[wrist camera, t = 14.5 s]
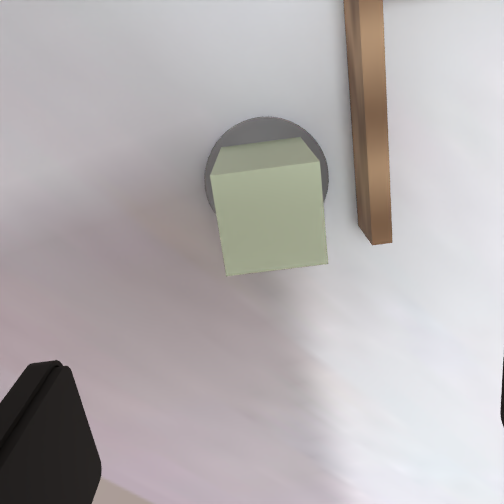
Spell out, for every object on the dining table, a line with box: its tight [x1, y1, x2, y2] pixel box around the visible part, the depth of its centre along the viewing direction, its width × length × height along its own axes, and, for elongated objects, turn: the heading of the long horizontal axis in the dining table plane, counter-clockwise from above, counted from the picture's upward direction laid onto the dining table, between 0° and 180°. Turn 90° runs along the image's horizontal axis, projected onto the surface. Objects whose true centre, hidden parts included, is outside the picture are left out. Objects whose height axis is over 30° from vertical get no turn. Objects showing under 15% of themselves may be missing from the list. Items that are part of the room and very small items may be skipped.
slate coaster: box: [205, 117, 329, 214], centre depth 31 cm, size 8×8×1 cm
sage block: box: [210, 137, 328, 276], centre depth 27 cm, size 5×5×9 cm
